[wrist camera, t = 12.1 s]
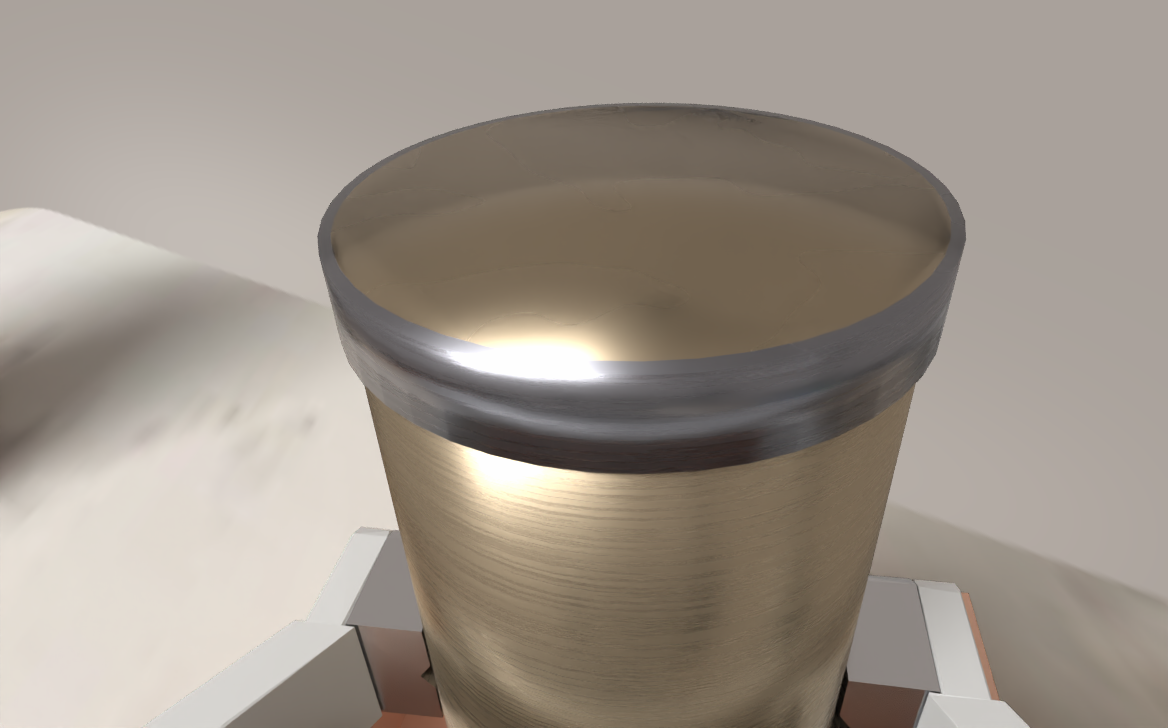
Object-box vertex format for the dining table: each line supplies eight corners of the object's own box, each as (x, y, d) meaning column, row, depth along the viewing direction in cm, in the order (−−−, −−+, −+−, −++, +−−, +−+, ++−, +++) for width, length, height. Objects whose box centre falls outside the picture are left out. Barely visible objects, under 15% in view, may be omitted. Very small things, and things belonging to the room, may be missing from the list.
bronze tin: (774, 790, 16) (902, 105, 8) (787, 1129, 12) (1065, 399, 4) (528, 756, 17) (434, 101, 9) (460, 1064, 13) (178, 346, 5)
